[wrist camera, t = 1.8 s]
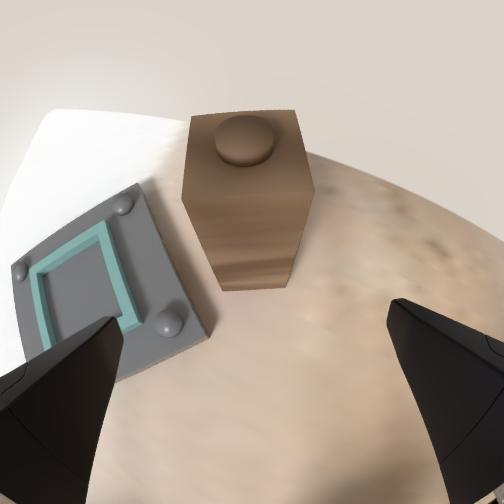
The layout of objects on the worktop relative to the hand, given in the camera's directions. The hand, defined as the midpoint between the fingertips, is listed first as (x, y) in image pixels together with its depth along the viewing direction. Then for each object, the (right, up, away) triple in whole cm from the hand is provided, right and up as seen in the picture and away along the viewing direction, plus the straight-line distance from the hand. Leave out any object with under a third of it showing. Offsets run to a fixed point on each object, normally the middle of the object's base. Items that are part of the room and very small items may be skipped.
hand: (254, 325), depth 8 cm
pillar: (0, +2, +15) cm, 15 cm away
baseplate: (-15, -2, +14) cm, 20 cm away
